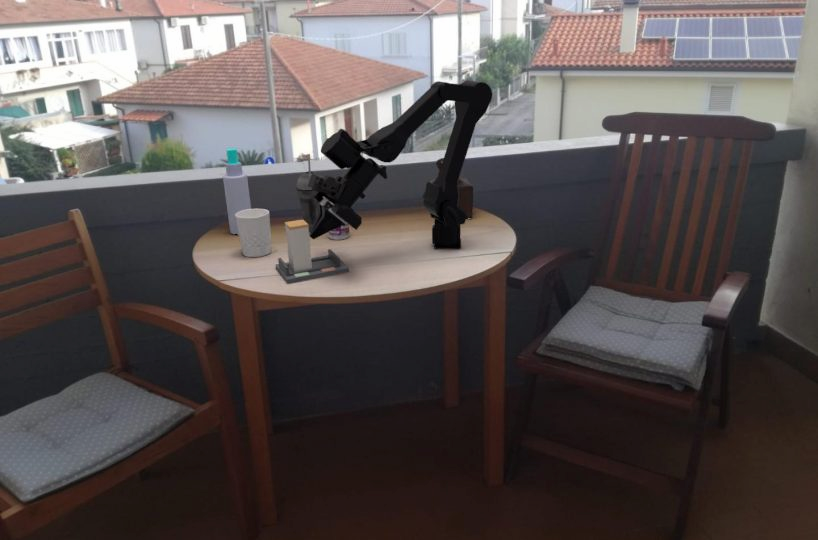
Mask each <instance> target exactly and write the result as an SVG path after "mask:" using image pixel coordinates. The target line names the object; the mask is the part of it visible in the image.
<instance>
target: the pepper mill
mask: <svg viewBox="0 0 818 540" xmlns="http://www.w3.org/2000/svg"><path fill="white" fill-rule="evenodd" d="M443 159H444V157H441V158H439V159H437V160H436V162H435V168H436V169H437V170H438V173H437V176H438V175H439V172H440V169H441V166H442V163H443ZM436 179H437V178H436ZM436 179H431V181H430V182H431V183H433V182H434V181H435V180H436ZM458 192H459V200H458V206H457V207H458V208H459V209H460V210H461V211H463V212H464V213H465V214H466V215H467V217H466V219H468V218H472V219H473V209H474V208H473V206H474V203H473V202H474V186H473V185H472V184H471V183H470V181H468V179H467V178H466V177H464V178H462V177H459V180H458ZM468 220H469V219H468Z"/></svg>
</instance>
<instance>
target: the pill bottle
mask: <svg viewBox="0 0 818 540" xmlns="http://www.w3.org/2000/svg"><path fill="white" fill-rule="evenodd" d="M343 223H345V224H346V225H344V226H343V225H342V226H340V227H338V228H336V229H333V230H331V231H329V232H327V233H328V237H329V239H331V240H335V241H340V240H341V241H343V240H345V239H348V238H349V237H350V225H349V224H348V223H347V222H346V221H344V222H343Z"/></svg>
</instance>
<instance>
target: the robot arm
mask: <svg viewBox="0 0 818 540" xmlns="http://www.w3.org/2000/svg"><path fill="white" fill-rule="evenodd" d="M492 100H493V91H492V89H491V86H489V84H488V83H486V82H482V81H476V80H470V79H469V80H464V81H463V82H461V83H449V82H446V81H440V80H439V81H438V80H437V81H434V82H433V83H432V85H431V86H430V87H429V88H428V89H427V90H426V91H425V92H424V93H423V94H422V95H421V96H420V97H419V98H418V99H417V100H415V102H414V103H413V104H412V105H411V106H410V107H408V108H407V109H406V110H405V111H404V112H403V113H402V114H401V115H400V116H399V117H398V118H397V119H396V120H395V121H393V122H392V123H390V124H388V125H386V126H385V125H384V126H382V127H381V128H380V129H378V130H376V131H375V132H373V133H371V135H369V137H368V138H367V139H362V140H360V141H356V139H354V138H353V137H352V136H351V135H350V134H349V132H348V131H346V129H344V128H340V129H338V131H337V132H335V133H333V134H332V135H331V136H330V137H327V138H326V139H325V141H324V143H323V144H322V145H321V148H320V153H321V154H323V155H324V156H325V157H326V159H328V160H329V161H330V162H332V163H333V164H334V165H335V166H337V168H339V169H340V170H344V169H348V170H347V171H346V172H345V173H344V175H343V176H341V175H338V176H336V177H334V176H330V175H328V174H326V175H325V176H324V175H321V174H319V173H316V172H314V173H312V174H311V177H310V180H309V183H308V187H311V189H312V190H313V191H312V192H311V193H310V195H311V196H313V197H314V198H315V199H316V200H318V201H319V202H320V203H318V202H316V204H317V207H318V215H317V218H316V220H315V223H314V225H313V228H312V230H311V232H309V238H311V239H312V240H315V239H317V238H320V237H322V236H324V235H325V234H327V233H328V232H329V231H331V230H333V229H336V228H338V227H340V226H342V225H343V226H344V225H346V224H345V223H343V222H344V221H346V222H347V223H348V224H349V227H351V228H353V229H354V230H356V231H357V230H358V229H359V228H360V227H361V225H362V221H363V220H362V217H361V216H360V215H359V214H358V213H357V212H356V211H355V209H353V207H354V206H355V204H357V202H358V201H359V200H360V199H362V200H363V199H364V198H366V195H365V194H364V193H365V191H366V190H367V189H368V188H369V186H371V184H372V183H373V181H374V180H375V179H376V178H377V176H378V177H380V178H382V179H383V180H387V179H388V175H387V166H386V165H383V164H378V163H377V162H376V161H375V160H377V161H380V162H383V163H393V162H394V161H395V160H396V159H397V158H398V157H399V155H400V154H402V152H403V150H404V149H405V147H406V144H407V142H408V140H409V139H410V137H411V136H412V135H413V134H414V133H415V132H416V131H417V130H418V129H419V128H420V127H421V126H422V125H423V124H425V123H426V122H427V120H428V119H430V118H431V116H432V115H434V114H435V113H436V112H437V111H438V110H439V109H440V108H441V107H442V106H443V105H445V103H446V102H448V101H451V102H454V109H455V120H454V122H453V123H454V124H453V127H452V131H451V134H450V135H449V139H448V140H449V141H448V144H447V147H446V151H445V153H444V156H443V158H444V159H443V163H442V166H441V169H440V172H439V171H438V173H439V175H438V174H437V177H436V180H435V179H434V180H435V181H434V182H433V183H431V181H427V182H426V185H425V189H424V190H425V191H424V193H423V195H422V198H423V202H422V203H423V207H424V209H425V211H427V213H429V215H430V217H431V219H434V224H433V225H432V227H431V243H432V245H433V249H435V250H437V249H438V250H457V249H458V250H460V249H462V239H461V225H464V224H466V217H467V215H466V214H465V213H464V212H463V211H461V210H460V209H459V208H458V207H457V206H458V200H459V192H458V180H459V178H461V177H460V176H461V173H462V171H463V170H462V169H463V167H464V163H465V160H466V157H467V154H468V150H469V148H470V145H471V142H472V138H473V134H474V131H475V129H476V125H477V123H478V122H479V121H480V119H481V118H482V117H484V115H485V114H486V113H487V110H488V108H489V106H490V104H491V102H492ZM362 154H363V155H366V156H368V158H365V157H364V156H363V155H362ZM369 157H370V158H369ZM374 159H375V160H374ZM315 173H316V174H315Z"/></svg>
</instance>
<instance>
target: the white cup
mask: <svg viewBox="0 0 818 540" xmlns="http://www.w3.org/2000/svg"><path fill="white" fill-rule="evenodd" d="M235 217H236V223H237V228H238V234H239V235H238V238H239V242H240V246H241V247H240V248H241V253H242V255H243V256H245V257H248V258H259V257H264V256H268V255H269V254H270V253H271V252H272V242H271V240H272V237H271V233H272V232H271V220H270V211H269V210H268V209H265V208H251V209H247V210H242V211H239V212H237V213H236V214H235Z"/></svg>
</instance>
